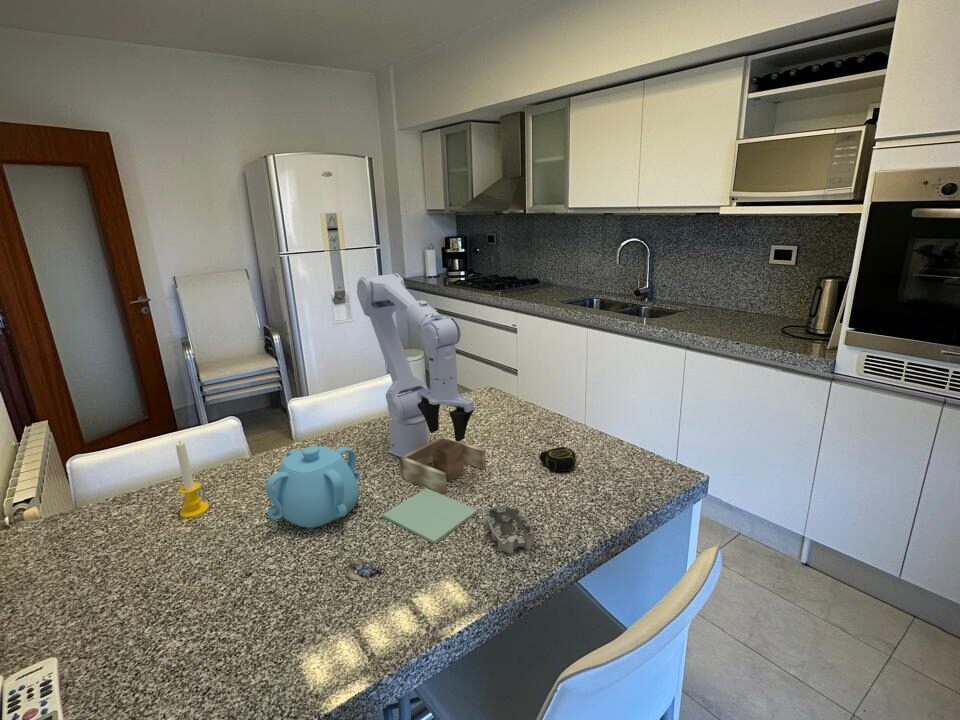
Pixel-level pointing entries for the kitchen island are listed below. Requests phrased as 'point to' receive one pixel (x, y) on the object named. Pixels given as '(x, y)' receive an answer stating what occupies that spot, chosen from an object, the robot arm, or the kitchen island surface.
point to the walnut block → (448, 458)
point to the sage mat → (430, 515)
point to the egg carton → (509, 527)
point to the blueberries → (363, 569)
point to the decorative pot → (314, 486)
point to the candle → (189, 486)
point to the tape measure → (559, 459)
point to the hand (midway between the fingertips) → (446, 435)
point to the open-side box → (429, 477)
